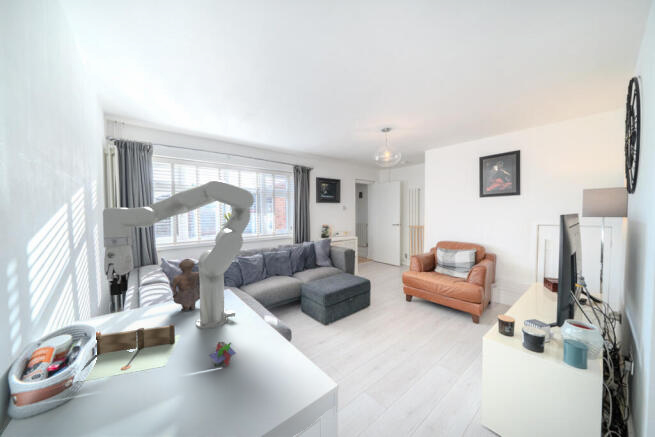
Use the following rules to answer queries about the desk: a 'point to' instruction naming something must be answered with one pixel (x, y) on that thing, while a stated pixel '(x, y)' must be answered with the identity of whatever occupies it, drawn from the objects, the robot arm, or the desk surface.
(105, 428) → the desk surface
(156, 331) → the fence fixed section
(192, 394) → the desk surface
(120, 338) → the panel
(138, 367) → the card
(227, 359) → the geometric puzzle
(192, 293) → the clay figurine
